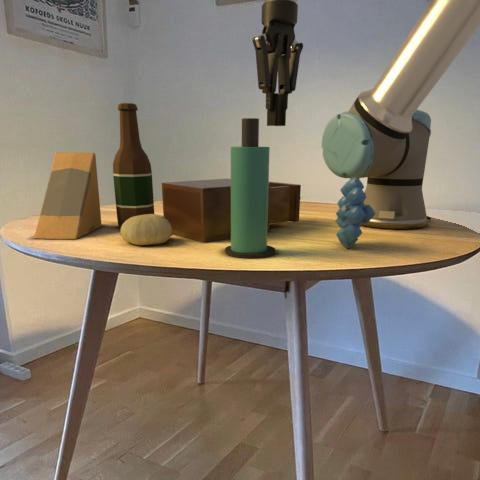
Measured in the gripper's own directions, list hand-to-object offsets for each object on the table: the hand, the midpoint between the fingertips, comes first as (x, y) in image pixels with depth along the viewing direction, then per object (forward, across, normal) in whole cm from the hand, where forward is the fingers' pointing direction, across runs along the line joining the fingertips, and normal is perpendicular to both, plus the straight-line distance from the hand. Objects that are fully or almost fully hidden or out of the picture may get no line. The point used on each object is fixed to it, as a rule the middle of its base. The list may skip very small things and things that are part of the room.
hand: (276, 125), depth 105 cm
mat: (+20, +29, +24) cm, 43 cm away
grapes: (+21, +13, +33) cm, 41 cm away
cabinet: (+20, +22, +6) cm, 31 cm away
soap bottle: (+20, +29, +24) cm, 43 cm away
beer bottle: (+21, +32, -9) cm, 39 cm away
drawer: (+20, +10, +6) cm, 23 cm away
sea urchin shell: (+21, +38, +6) cm, 44 cm away
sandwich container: (+21, +45, -13) cm, 51 cm away
